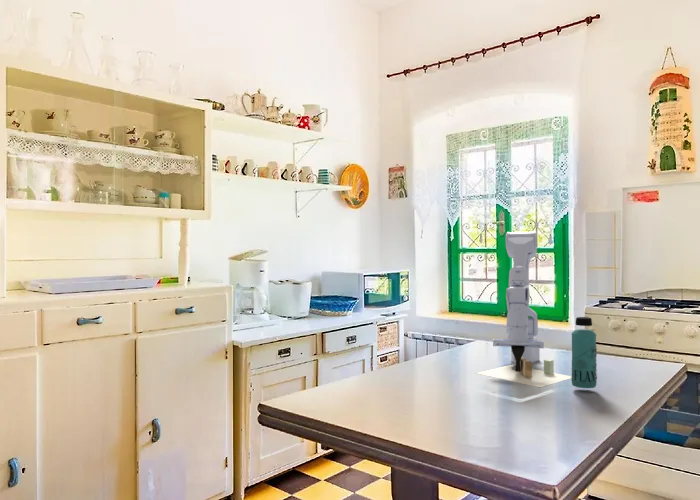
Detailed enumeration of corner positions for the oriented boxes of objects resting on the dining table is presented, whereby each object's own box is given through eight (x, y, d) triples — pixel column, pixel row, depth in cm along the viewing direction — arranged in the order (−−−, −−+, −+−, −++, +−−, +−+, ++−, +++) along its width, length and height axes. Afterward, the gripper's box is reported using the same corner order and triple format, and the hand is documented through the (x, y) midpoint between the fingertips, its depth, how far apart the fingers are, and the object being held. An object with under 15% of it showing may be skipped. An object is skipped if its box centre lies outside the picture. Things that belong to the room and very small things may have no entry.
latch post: (547, 374, 167) (547, 359, 167) (553, 376, 166) (553, 360, 166) (543, 376, 166) (543, 360, 166) (549, 377, 165) (549, 361, 165)
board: (511, 367, 179) (511, 364, 178) (575, 379, 161) (575, 377, 161) (475, 375, 167) (475, 373, 167) (540, 390, 150) (540, 387, 150)
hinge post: (516, 369, 175) (516, 348, 175) (527, 371, 172) (527, 350, 172) (509, 371, 173) (508, 349, 173) (519, 373, 170) (519, 351, 170)
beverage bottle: (569, 392, 148) (569, 318, 147) (572, 386, 154) (572, 315, 153) (596, 395, 145) (595, 319, 144) (598, 389, 150) (597, 316, 150)
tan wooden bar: (517, 369, 170) (517, 354, 170) (522, 369, 170) (522, 354, 170) (526, 377, 160) (526, 362, 160) (532, 377, 160) (532, 362, 160)
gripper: (492, 327, 163) (492, 372, 164) (544, 328, 159) (544, 375, 160) (493, 323, 170) (493, 367, 170) (542, 325, 166) (543, 369, 166)
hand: (518, 370), depth 165 cm, fingers closed, pressing on tan wooden bar
